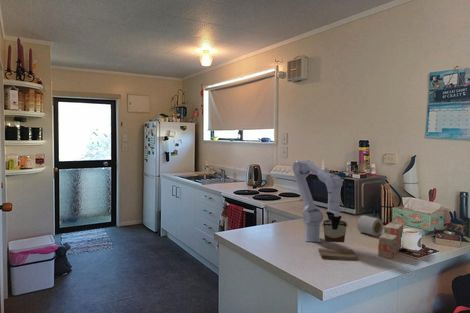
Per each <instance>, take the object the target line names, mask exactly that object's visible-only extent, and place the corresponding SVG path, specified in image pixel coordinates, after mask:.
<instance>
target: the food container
mask: <svg viewBox="0 0 470 313" xmlns="http://www.w3.org/2000/svg"><path fill="white" fill-rule="evenodd" d="M321 224H322V225H321V227H323V235H324V237H323V238H324V242H325V243H345V240H346V234H347V232H346V231H347V227H348V226H349V225H348V223H347V221H345V220H341V219H340V221H339V224H338V228H337V230H333V229H332V222H331V220H329V219H325V220H322V223H321Z"/></svg>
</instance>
